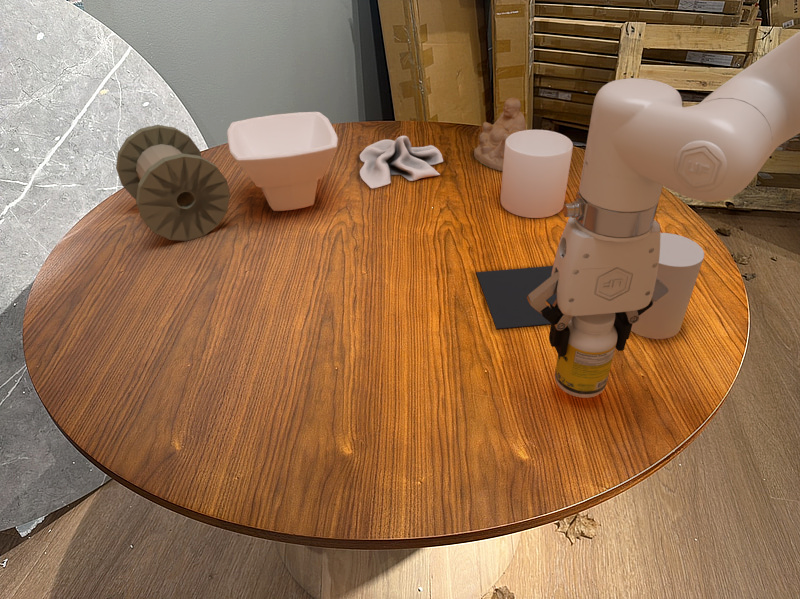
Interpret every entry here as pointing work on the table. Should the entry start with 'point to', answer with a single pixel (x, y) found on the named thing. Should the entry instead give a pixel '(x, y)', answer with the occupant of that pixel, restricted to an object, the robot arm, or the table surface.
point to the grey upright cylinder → (671, 287)
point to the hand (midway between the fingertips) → (587, 344)
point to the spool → (172, 183)
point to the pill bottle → (587, 355)
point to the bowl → (284, 155)
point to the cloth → (397, 161)
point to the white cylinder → (535, 173)
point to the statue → (499, 135)
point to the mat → (514, 295)
